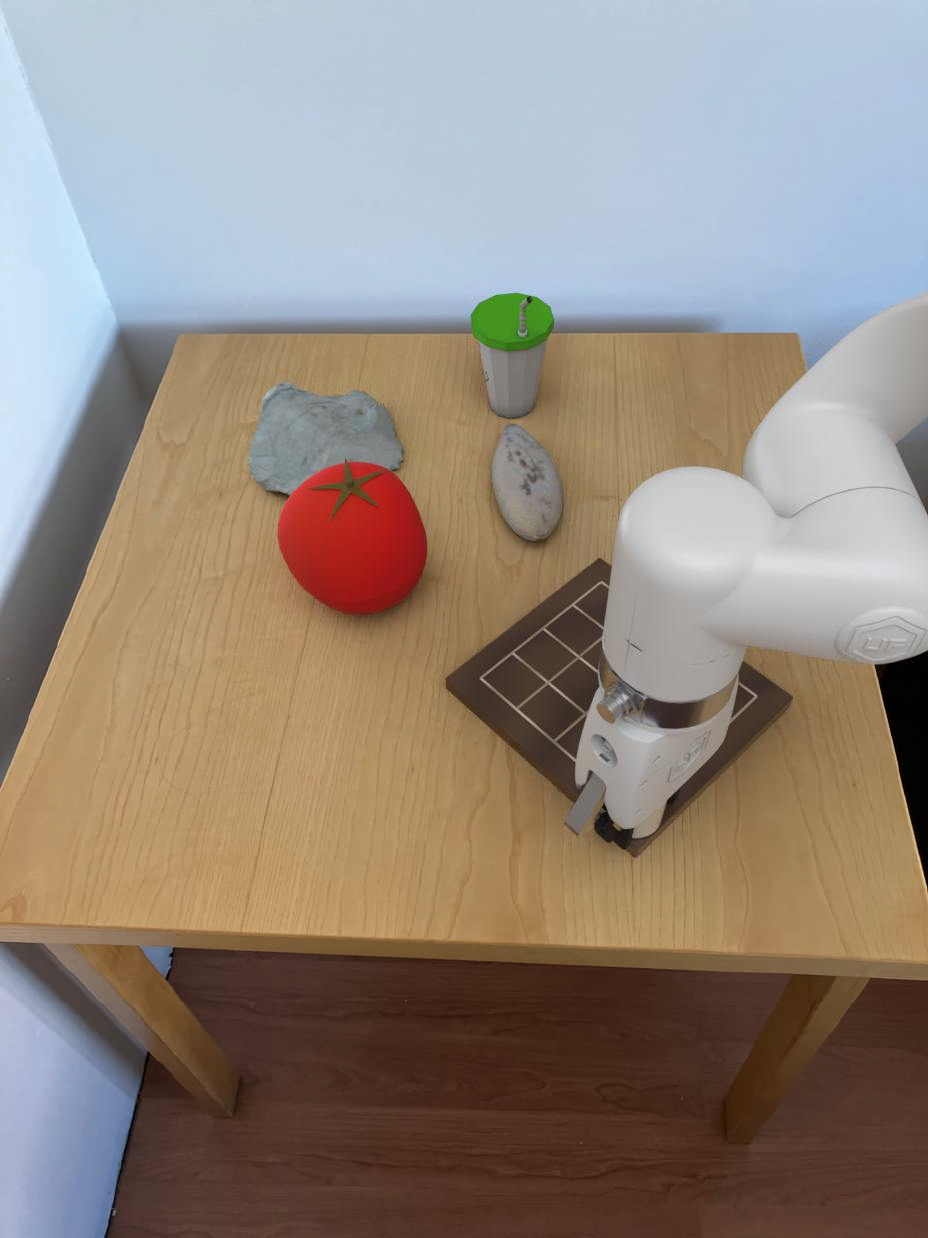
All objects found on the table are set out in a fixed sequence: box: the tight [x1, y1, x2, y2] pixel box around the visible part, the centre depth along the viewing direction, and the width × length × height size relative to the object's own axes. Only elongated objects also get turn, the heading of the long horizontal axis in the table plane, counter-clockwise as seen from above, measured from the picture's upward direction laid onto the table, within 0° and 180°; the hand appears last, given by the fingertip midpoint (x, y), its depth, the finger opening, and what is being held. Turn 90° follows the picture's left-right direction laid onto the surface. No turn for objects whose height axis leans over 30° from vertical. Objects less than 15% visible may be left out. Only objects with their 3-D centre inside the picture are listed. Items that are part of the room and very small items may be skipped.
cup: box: [470, 292, 555, 420], centre depth 92 cm, size 8×8×15 cm
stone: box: [247, 381, 404, 497], centre depth 93 cm, size 16×4×15 cm
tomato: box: [276, 457, 428, 615], centre depth 79 cm, size 12×12×13 cm
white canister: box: [632, 799, 668, 838], centre depth 66 cm, size 4×4×4 cm
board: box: [445, 557, 794, 859], centre depth 75 cm, size 20×18×2 cm
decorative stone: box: [491, 423, 564, 542], centre depth 88 cm, size 6×16×3 cm, turn 10°
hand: (634, 809), depth 68 cm, fingers closed on white canister, 4 cm apart
